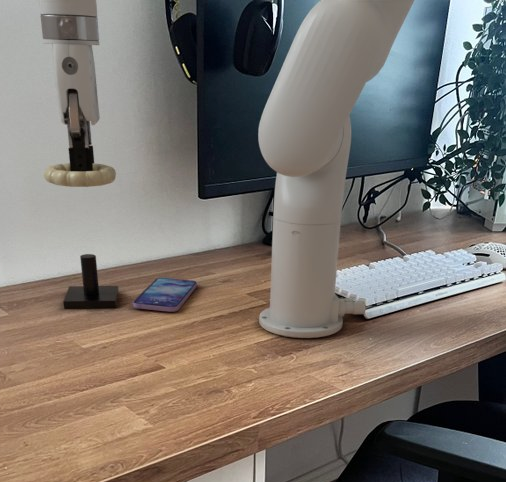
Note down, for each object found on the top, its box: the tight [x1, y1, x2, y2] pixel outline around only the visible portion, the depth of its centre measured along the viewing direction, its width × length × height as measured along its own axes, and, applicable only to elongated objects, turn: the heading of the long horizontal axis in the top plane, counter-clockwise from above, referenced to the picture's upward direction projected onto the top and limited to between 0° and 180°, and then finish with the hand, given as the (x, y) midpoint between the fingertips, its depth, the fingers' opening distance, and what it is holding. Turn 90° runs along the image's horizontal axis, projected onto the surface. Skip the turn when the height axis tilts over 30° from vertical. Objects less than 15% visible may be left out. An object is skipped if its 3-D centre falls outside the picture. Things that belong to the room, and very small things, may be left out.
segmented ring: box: [43, 162, 117, 188], centre depth 99 cm, size 10×10×2 cm
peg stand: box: [63, 253, 119, 310], centre depth 110 cm, size 8×8×7 cm
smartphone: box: [132, 277, 198, 312], centre depth 114 cm, size 7×1×15 cm
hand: (83, 174), depth 103 cm, fingers closed on segmented ring, 2 cm apart
